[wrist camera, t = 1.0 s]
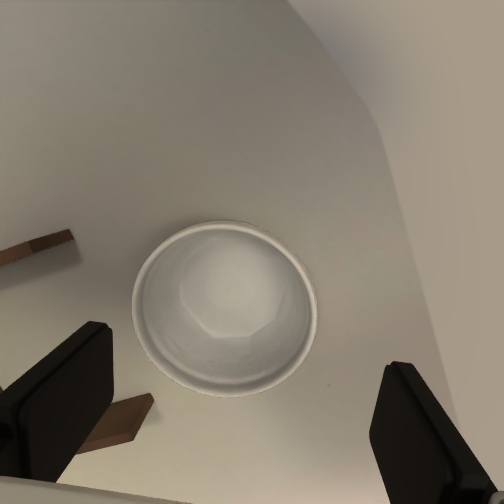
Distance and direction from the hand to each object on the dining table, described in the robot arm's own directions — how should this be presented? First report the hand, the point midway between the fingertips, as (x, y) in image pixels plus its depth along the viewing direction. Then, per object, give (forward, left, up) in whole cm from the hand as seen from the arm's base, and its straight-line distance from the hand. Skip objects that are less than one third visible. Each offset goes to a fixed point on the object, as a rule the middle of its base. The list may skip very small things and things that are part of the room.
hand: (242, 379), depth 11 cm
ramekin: (+3, -2, -18) cm, 18 cm away
